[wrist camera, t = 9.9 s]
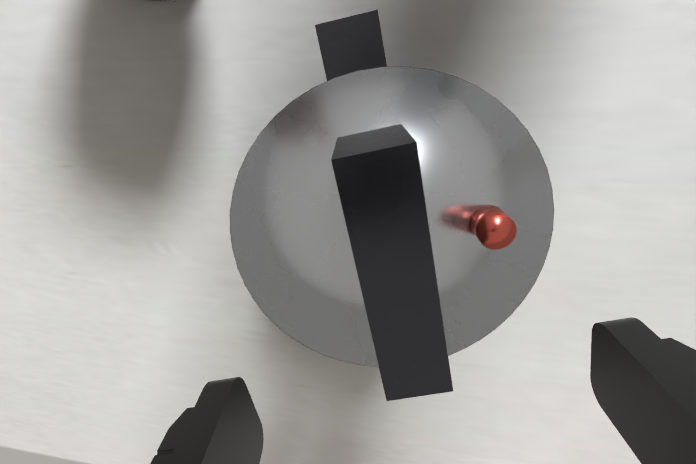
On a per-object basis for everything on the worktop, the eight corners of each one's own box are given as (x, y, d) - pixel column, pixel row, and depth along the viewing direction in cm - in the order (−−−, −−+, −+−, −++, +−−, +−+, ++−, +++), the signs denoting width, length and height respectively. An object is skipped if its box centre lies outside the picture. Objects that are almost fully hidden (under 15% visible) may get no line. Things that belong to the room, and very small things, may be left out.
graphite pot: (252, 60, 24) (187, 53, 15) (451, 12, 23) (517, -28, 13) (320, 301, 30) (304, 402, 21) (477, 273, 29) (534, 368, 20)
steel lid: (205, 106, 17) (121, 125, 11) (521, 32, 15) (626, 8, 9) (287, 351, 22) (261, 460, 16) (533, 311, 20) (608, 413, 14)
